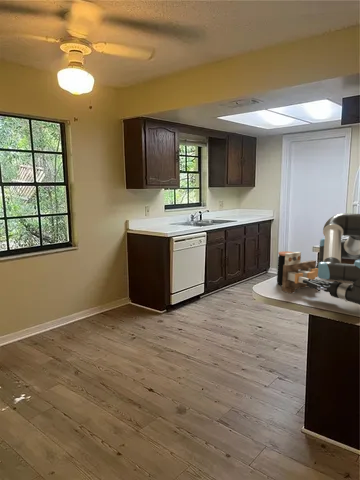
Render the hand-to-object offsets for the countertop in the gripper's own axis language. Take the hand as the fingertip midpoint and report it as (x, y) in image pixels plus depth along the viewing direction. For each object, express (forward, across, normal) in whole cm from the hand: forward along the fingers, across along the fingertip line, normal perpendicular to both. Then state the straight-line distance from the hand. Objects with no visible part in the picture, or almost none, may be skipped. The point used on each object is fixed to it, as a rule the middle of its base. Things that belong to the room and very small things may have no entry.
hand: (299, 279), depth 182 cm
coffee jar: (+16, +9, -8) cm, 19 cm away
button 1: (+4, +1, -2) cm, 5 cm away
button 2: (+7, +17, -2) cm, 18 cm away
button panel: (+5, +9, -8) cm, 13 cm away
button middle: (+3, +9, -2) cm, 9 cm away
